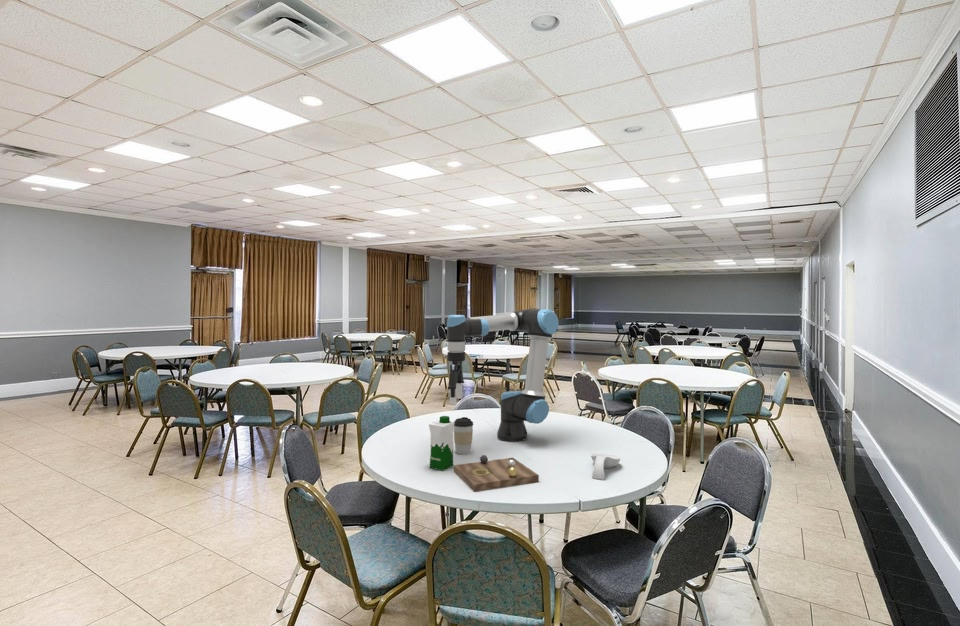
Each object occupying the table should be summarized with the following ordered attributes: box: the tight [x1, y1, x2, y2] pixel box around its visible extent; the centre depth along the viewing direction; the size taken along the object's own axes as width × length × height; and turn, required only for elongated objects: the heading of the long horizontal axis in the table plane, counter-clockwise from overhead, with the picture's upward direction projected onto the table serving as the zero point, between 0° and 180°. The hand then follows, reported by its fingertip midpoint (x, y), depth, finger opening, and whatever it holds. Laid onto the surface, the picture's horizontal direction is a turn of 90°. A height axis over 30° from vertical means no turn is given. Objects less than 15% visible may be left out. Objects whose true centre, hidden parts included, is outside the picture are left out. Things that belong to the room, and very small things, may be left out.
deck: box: [453, 457, 540, 492], centre depth 185 cm, size 26×22×2 cm
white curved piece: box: [590, 453, 621, 481], centre depth 193 cm, size 24×12×7 cm, turn 158°
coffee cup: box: [453, 416, 474, 455], centre depth 215 cm, size 9×9×15 cm
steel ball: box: [507, 459, 516, 467], centre depth 187 cm, size 3×3×3 cm
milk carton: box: [428, 415, 454, 471], centre depth 195 cm, size 9×9×20 cm
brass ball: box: [508, 467, 517, 477], centre depth 178 cm, size 4×4×4 cm
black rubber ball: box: [479, 454, 489, 463], centre depth 193 cm, size 3×3×3 cm
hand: (456, 401), depth 202 cm, fingers open, 13 cm apart
